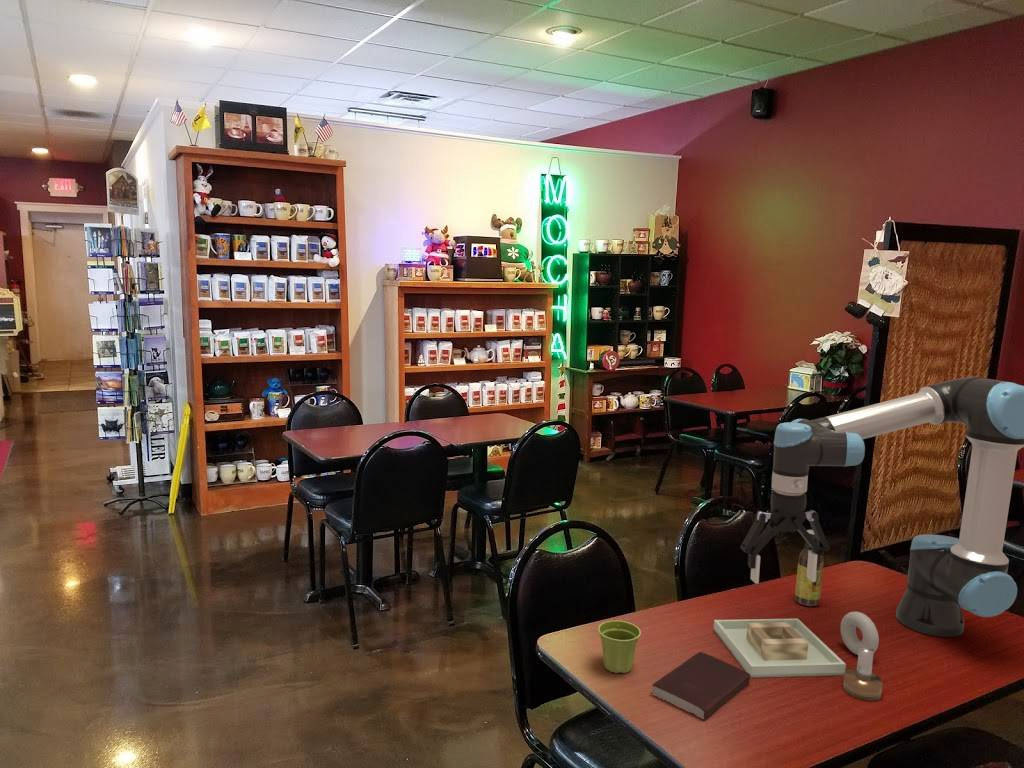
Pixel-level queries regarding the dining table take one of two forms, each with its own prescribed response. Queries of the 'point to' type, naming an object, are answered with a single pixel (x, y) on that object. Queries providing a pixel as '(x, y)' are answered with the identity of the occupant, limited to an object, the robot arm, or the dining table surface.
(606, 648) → the plant pot
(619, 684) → the dining table surface
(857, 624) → the donut
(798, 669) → the sage tray
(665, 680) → the book
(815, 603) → the sauce bottle
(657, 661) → the dining table surface
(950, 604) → the robot arm
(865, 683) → the cylinder
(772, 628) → the wooden square frame
